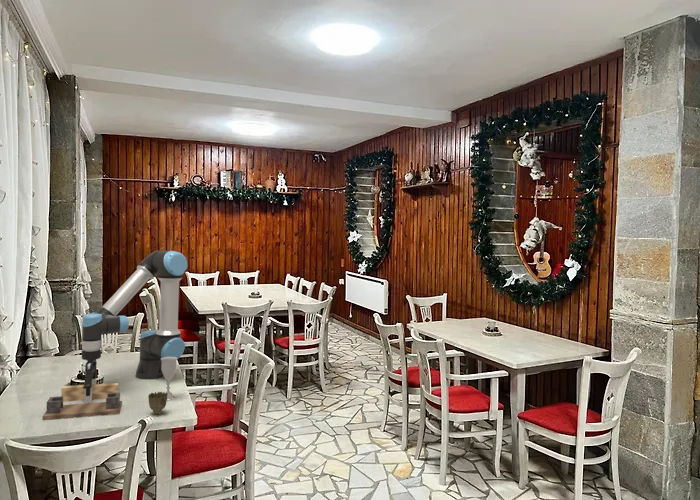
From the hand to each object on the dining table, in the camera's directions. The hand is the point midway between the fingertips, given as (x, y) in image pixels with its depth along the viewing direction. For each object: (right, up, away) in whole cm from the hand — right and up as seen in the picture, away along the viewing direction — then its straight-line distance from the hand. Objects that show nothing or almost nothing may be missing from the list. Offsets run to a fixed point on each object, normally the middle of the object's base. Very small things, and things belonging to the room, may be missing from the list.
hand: (90, 398), depth 218 cm
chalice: (+33, -1, +4) cm, 33 cm away
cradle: (+6, -1, -16) cm, 17 cm away
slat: (0, 0, 0) cm, 0 cm away
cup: (+35, -2, -15) cm, 38 cm away
